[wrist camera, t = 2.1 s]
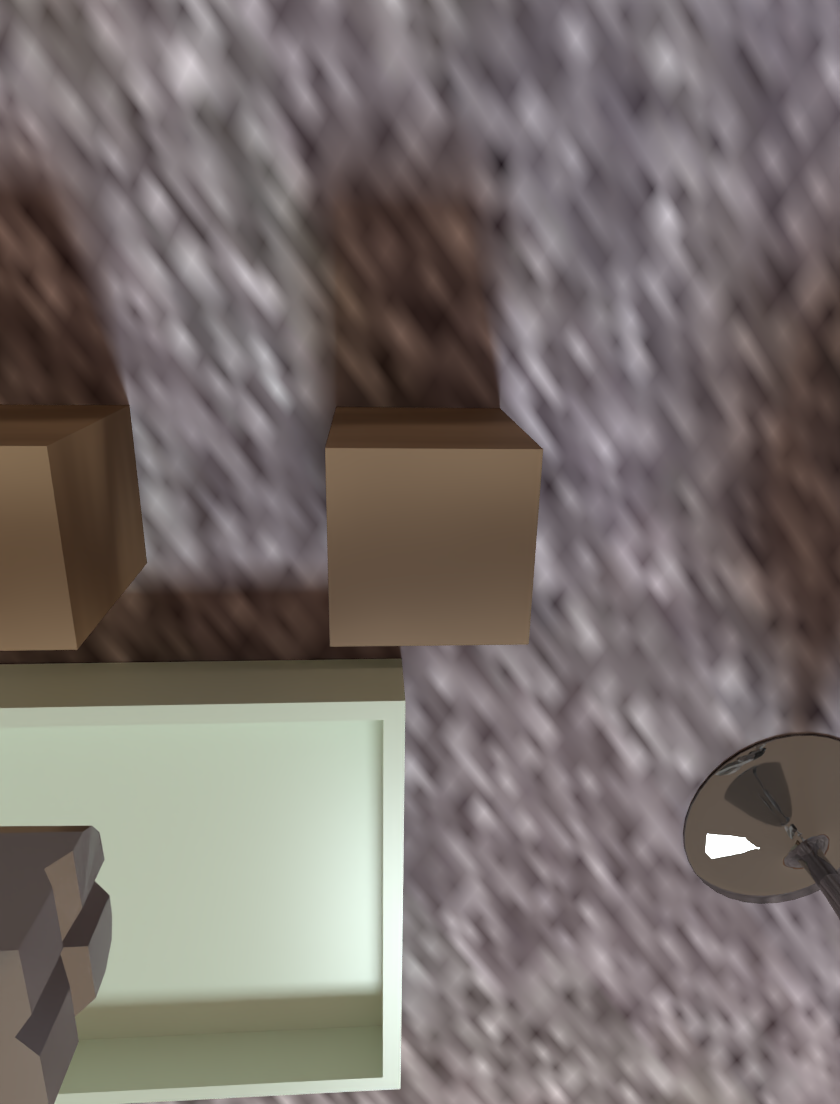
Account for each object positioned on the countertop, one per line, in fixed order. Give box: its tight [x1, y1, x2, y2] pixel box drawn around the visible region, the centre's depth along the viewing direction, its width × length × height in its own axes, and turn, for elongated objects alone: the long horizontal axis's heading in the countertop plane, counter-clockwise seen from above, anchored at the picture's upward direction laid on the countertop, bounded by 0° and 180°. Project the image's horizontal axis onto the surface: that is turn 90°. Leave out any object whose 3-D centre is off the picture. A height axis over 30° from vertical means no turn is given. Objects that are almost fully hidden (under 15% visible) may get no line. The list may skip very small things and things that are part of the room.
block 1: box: [0, 404, 147, 651], centre depth 18 cm, size 4×4×6 cm
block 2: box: [325, 407, 543, 647], centre depth 19 cm, size 4×4×6 cm
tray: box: [0, 659, 405, 1104], centre depth 24 cm, size 15×15×2 cm
